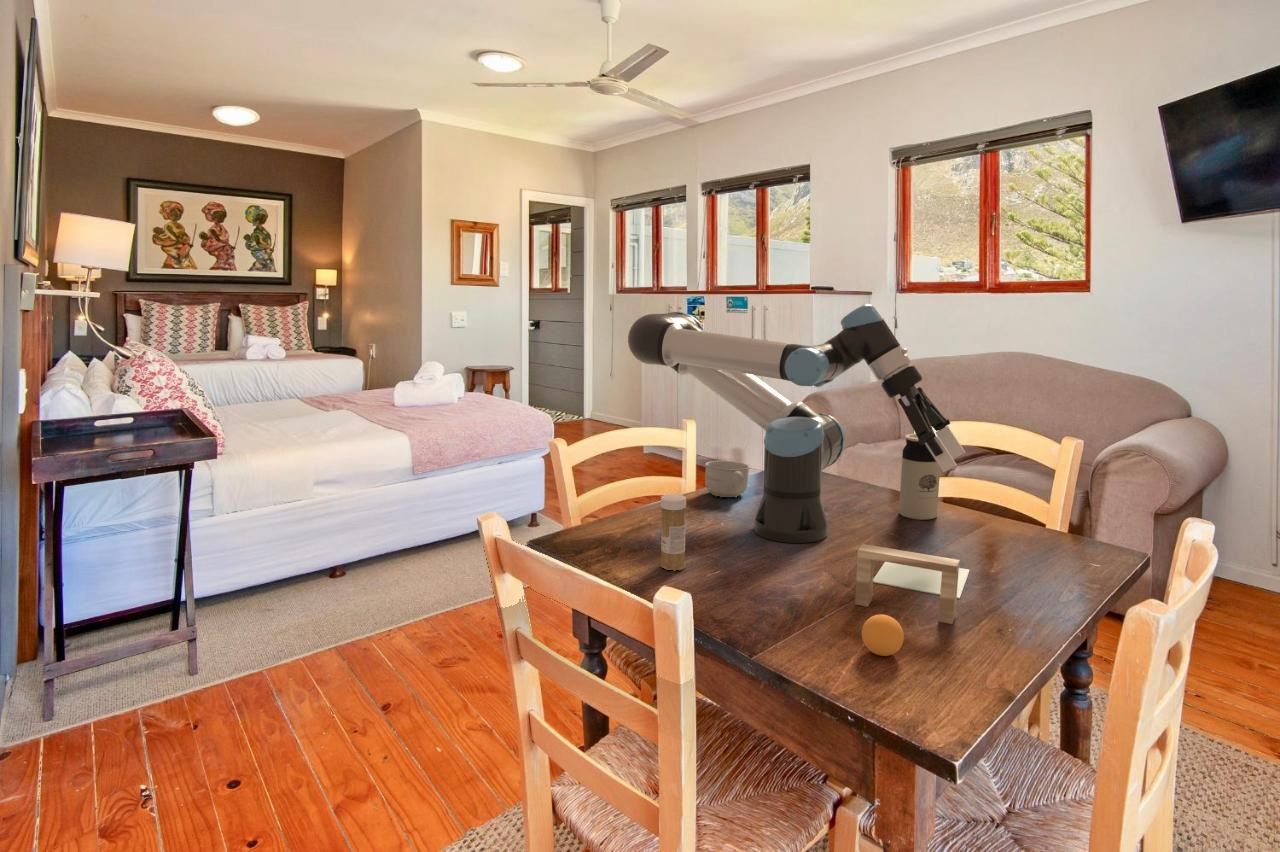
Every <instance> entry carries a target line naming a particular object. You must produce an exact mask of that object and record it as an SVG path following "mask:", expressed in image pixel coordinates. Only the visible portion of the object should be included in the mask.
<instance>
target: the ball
mask: <svg viewBox="0 0 1280 852" xmlns="http://www.w3.org/2000/svg"><path fill="white" fill-rule="evenodd" d="M903 630H904V629H903V628H902V626H901V624H900V622H899V621H897V620H896V619H895V618H893V617H892V616H890V615H887V614H883V613H882V614H875V615H872V616H870V617H869V618H868V619H867V620H865V622H864V624H863V626H862V628H861V638H862V641H863V643H864V645H865V647H866V648H867V649H868V650H869V651H870V652H871V653H873V654H875V655H876V656H877V655H878V656H882V657H888V656H892V655H895V654H896V653H897V652H898V651H900V649H901V648H902V645H903V643H904V640H905V639H904V637H905V636H904V631H903Z"/></svg>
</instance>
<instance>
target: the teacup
mask: <svg viewBox="0 0 1280 852" xmlns="http://www.w3.org/2000/svg"><path fill="white" fill-rule="evenodd" d="M704 466H705V473H704V476H705V477H704V482H705V484H704V485H705V487H706V489H707V490H708V491H709V492H710V493H711V495H713V496H714V495H715V496H714V497H717V496H720V497H719V498H722V497H735V498H737V497H736V496H738V497H740V496H741V495H742V494H744V493H745V492H746V491H747V488H748V484H749V482H748V481H749V475H750V474H749V473H750V472H749V471H750V465H749V464H747V463H743V462H740V461H739V462H738V461H732V460H731V461H730V460H710V461H707V462H705V463H704ZM708 488H711V489H708ZM739 495H740V496H739Z"/></svg>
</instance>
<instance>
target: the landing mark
mask: <svg viewBox="0 0 1280 852" xmlns="http://www.w3.org/2000/svg"><path fill="white" fill-rule="evenodd" d="M970 570H971V569H968V568H961V567H959V573H958V586H957V598H956V599H957V600H960V599H961V596H962V593H963V591H964V588H965V585H966V582H967V579H968V576H969V574H970V572H971V571H970ZM941 577H942V572H941V571H936V570H930V569H924V568H919V567H913V566H907V565H901V564H896V563H890V562H884V563H883V564H882V566H881V567H880V569H879V570H878V572H877V573H876V575H875V576H873V584H874V583H875V584H880V585H884V586H885V585H886V586H892V587H896V588H901V589H906V590H910V591H911V590H912V591H916V592H921V593H926V594H927V593H928V594H932V595H937V596H940V590H941Z"/></svg>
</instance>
